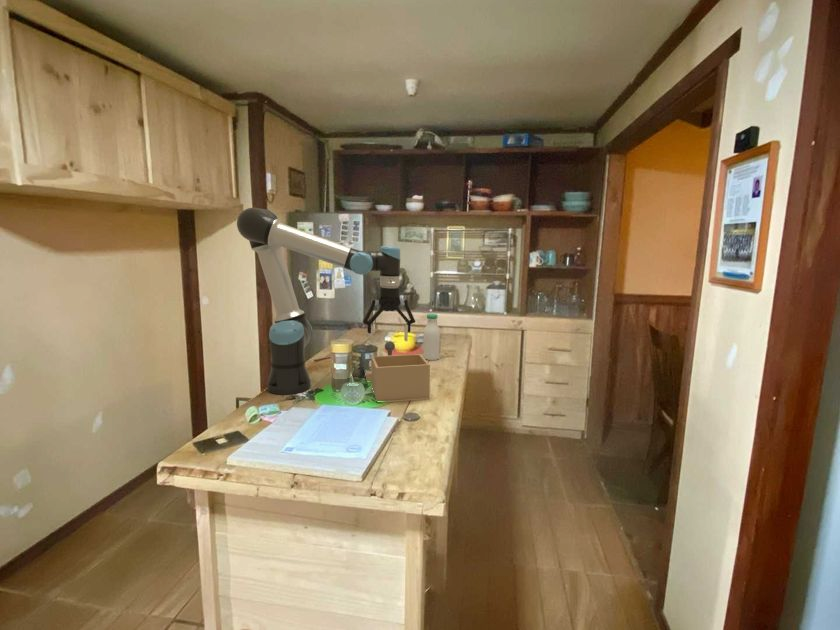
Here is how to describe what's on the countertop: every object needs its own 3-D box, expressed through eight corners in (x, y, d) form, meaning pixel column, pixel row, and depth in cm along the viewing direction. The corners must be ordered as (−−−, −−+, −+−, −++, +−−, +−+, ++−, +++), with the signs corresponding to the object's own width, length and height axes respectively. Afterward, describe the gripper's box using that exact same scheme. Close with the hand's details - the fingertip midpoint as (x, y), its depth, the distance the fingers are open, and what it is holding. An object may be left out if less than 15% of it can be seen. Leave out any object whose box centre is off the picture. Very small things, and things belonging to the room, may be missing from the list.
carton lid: (366, 382, 166) (366, 347, 164) (362, 370, 182) (362, 337, 179) (418, 379, 171) (419, 345, 168) (410, 367, 186) (410, 335, 184)
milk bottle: (438, 361, 196) (439, 316, 192) (421, 359, 197) (421, 315, 194) (441, 356, 203) (442, 313, 200) (424, 355, 205) (425, 312, 201)
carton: (376, 402, 147) (376, 367, 144) (371, 388, 160) (371, 356, 158) (429, 399, 150) (429, 364, 148) (420, 385, 164) (420, 353, 162)
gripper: (357, 288, 164) (357, 343, 168) (423, 288, 169) (422, 342, 173) (356, 285, 171) (356, 339, 175) (419, 285, 176) (417, 337, 180)
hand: (388, 340), depth 174 cm, fingers open, 13 cm apart
